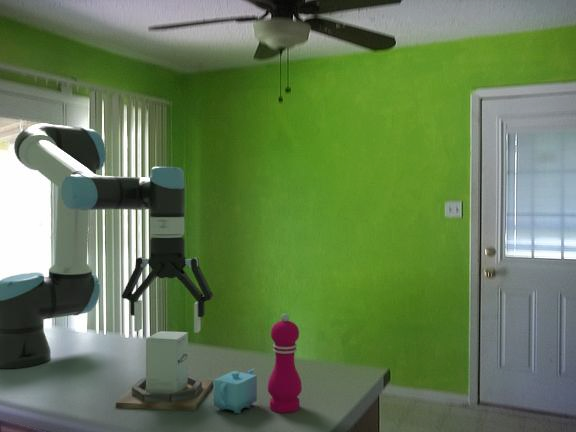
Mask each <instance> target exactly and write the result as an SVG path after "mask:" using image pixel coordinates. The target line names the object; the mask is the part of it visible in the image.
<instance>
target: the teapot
mask: <svg viewBox="0 0 576 432" xmlns="http://www.w3.org/2000/svg"><path fill="white" fill-rule="evenodd" d="M254 371H255V368H254V367H253V368H250V369H248V371H247V373H246V372H240V371H237V370H233V371H230V372H228V373H225V374H223V375H221V376H219V377H217V378H214V379H213V407H217V408H219V410H222V411H223V410H224V411H225V410H229V411H233V413H234V414H241V412H242V409H244V408H246V409H247V408H251V407H252V406H251V405H253V403H256V402H257V400H258V399H257V397H258V393H257V391H258V379H257V378H258V375H256V374H253V372H254Z"/></svg>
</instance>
